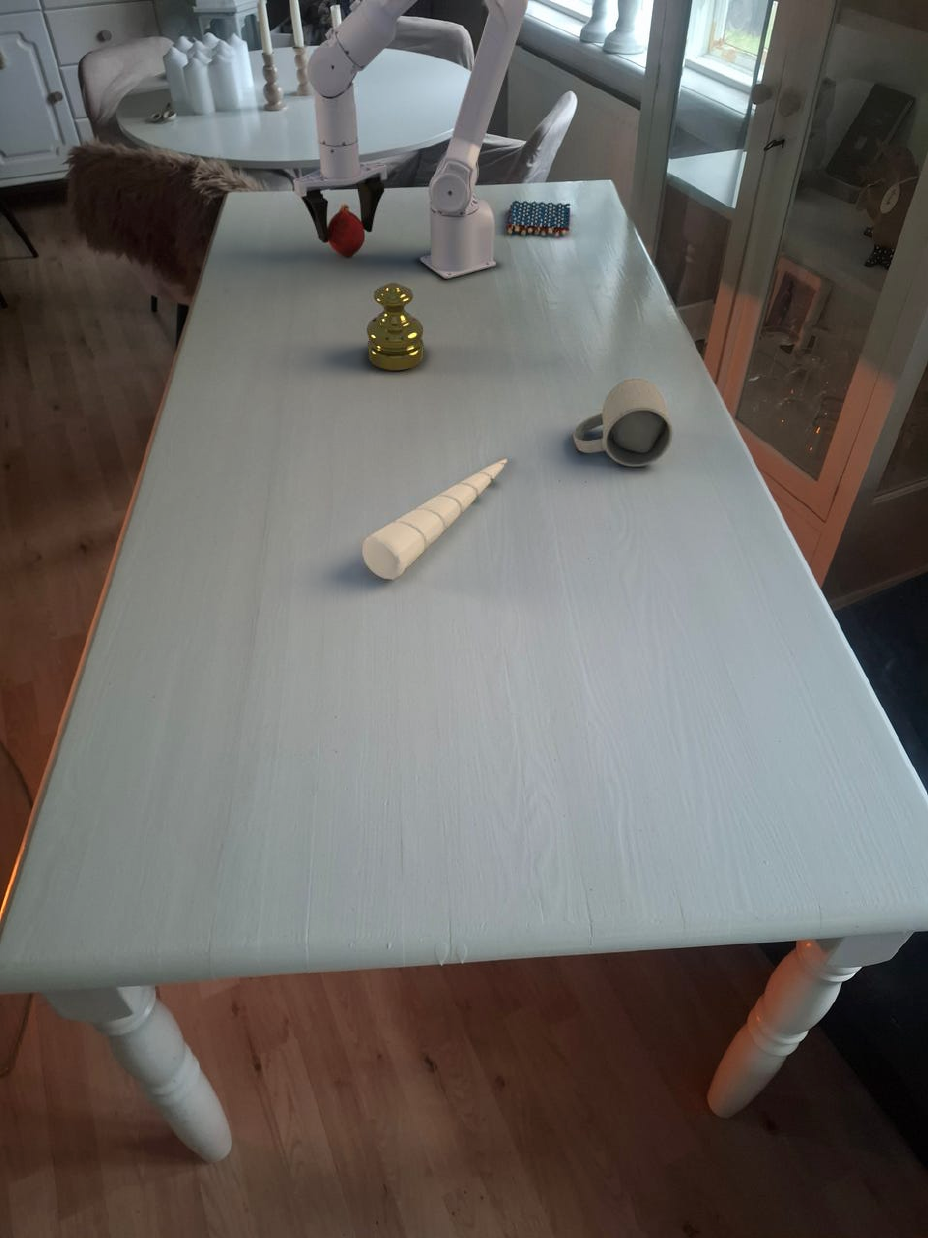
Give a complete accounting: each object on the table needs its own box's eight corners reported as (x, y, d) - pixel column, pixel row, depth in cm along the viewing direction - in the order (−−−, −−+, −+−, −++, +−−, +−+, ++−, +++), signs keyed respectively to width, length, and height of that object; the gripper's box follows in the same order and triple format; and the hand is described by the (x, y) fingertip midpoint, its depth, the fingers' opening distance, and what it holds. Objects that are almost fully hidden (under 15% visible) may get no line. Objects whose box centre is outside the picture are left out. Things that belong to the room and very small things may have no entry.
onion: (360, 267, 135) (356, 214, 129) (324, 263, 135) (319, 210, 130) (370, 251, 139) (367, 200, 133) (335, 248, 139) (331, 196, 134)
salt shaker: (410, 339, 119) (408, 268, 112) (432, 365, 115) (431, 292, 107) (360, 350, 117) (355, 278, 110) (380, 376, 112) (376, 303, 105)
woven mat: (509, 210, 151) (509, 198, 150) (569, 213, 151) (571, 201, 149) (505, 234, 144) (505, 222, 143) (568, 238, 143) (570, 225, 142)
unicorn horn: (533, 475, 98) (536, 440, 95) (396, 590, 85) (394, 553, 82) (500, 460, 100) (501, 424, 97) (360, 569, 87) (357, 533, 84)
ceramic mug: (657, 428, 105) (668, 371, 100) (666, 468, 99) (678, 410, 94) (570, 426, 105) (576, 370, 100) (574, 466, 100) (581, 409, 94)
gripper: (368, 123, 130) (373, 216, 140) (280, 139, 124) (292, 235, 134) (392, 137, 126) (395, 231, 136) (301, 154, 120) (312, 252, 130)
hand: (345, 234), depth 134 cm, fingers open, 7 cm apart
